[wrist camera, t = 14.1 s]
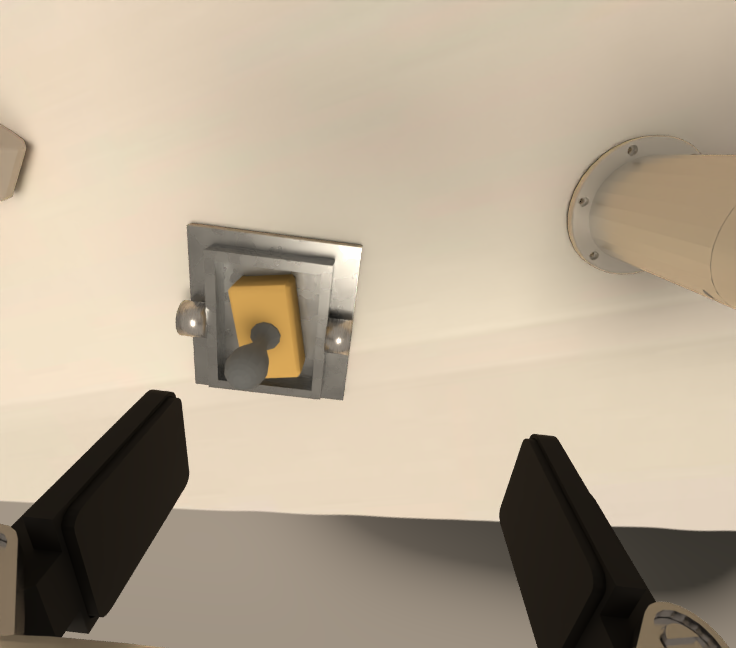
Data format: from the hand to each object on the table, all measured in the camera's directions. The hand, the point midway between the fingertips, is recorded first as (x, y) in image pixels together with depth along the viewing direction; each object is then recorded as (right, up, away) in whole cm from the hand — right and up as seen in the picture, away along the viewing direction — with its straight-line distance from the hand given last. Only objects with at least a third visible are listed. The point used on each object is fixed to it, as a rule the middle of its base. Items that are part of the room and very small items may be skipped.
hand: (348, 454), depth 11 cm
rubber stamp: (-9, +4, +31) cm, 33 cm away
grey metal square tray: (-10, +4, +32) cm, 34 cm away
